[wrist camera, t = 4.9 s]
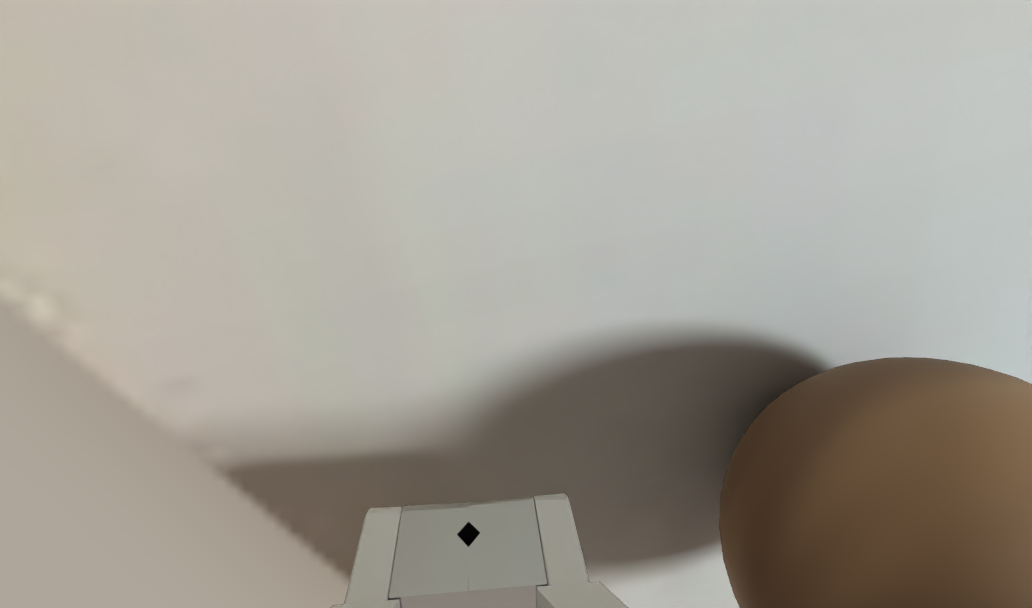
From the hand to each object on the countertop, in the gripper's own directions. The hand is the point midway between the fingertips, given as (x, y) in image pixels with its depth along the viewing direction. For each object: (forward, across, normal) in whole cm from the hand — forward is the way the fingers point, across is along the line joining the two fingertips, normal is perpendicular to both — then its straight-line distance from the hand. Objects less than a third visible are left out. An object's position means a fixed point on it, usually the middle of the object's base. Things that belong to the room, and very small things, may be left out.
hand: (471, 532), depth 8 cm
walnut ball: (-1, -6, 0) cm, 6 cm away
